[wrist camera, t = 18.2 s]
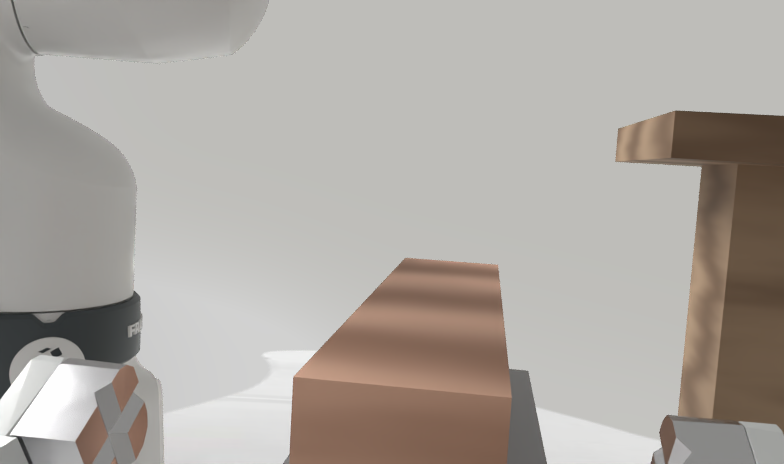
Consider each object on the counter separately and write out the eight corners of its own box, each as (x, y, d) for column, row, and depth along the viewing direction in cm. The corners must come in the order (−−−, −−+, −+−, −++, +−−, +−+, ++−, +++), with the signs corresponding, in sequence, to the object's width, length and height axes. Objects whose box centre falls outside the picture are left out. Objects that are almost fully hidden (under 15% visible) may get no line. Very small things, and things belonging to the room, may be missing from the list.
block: (399, 347, 33) (405, 257, 33) (491, 355, 32) (497, 264, 32) (283, 583, 14) (293, 376, 14) (495, 610, 14) (511, 397, 13)
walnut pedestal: (583, 537, 48) (618, 128, 46) (814, 564, 46) (863, 141, 44) (621, 686, 34) (675, 110, 32) (953, 733, 32) (1036, 128, 30)
